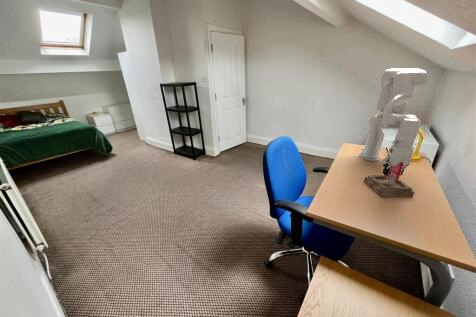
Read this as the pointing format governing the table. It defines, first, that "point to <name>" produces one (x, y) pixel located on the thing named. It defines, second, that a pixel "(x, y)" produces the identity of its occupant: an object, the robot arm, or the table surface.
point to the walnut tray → (388, 187)
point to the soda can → (395, 171)
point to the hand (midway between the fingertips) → (392, 173)
